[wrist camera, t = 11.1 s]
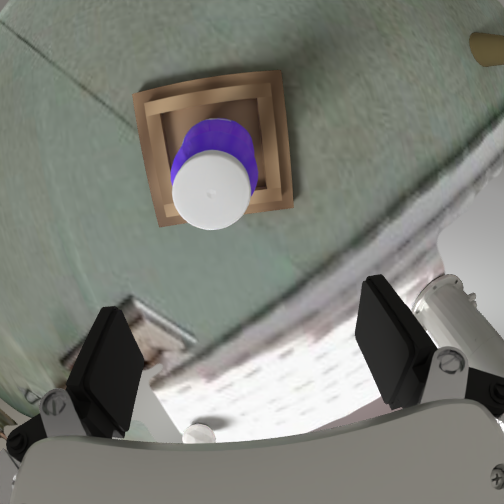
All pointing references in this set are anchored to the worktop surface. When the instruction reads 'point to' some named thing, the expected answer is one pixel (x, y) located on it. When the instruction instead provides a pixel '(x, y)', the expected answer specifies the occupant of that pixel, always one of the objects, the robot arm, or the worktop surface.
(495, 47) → the tan game pawn
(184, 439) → the geometric ball
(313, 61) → the worktop surface
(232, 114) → the walnut base
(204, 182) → the bottle
